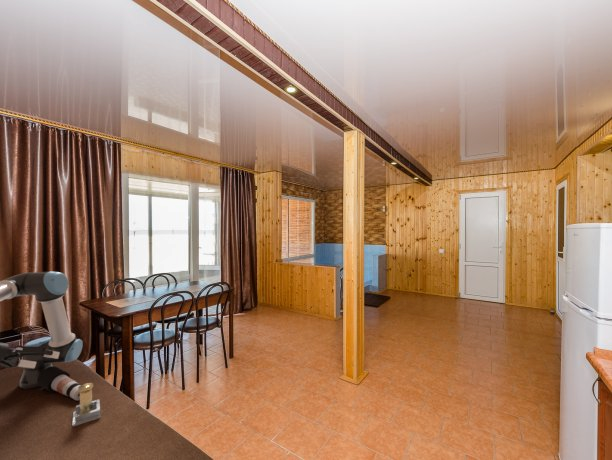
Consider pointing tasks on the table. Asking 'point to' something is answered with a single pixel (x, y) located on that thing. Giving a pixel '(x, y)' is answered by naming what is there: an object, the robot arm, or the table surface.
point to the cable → (59, 382)
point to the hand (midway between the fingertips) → (46, 360)
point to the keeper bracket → (86, 414)
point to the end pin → (85, 397)
